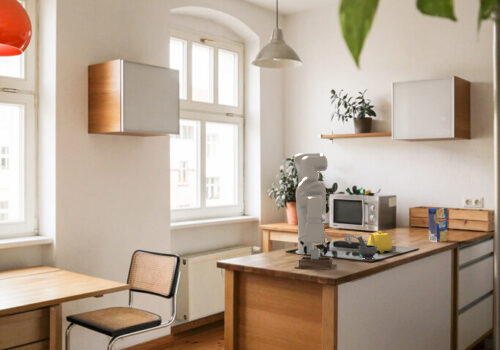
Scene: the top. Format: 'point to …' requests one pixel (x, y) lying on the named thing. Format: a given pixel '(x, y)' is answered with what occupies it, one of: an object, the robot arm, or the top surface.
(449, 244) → the top surface
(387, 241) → the teapot
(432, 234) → the blue food box
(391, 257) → the top surface
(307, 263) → the brown wooden base plate
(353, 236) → the bracket
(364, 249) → the mortar and pestle
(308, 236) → the robot arm
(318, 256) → the bracket block
